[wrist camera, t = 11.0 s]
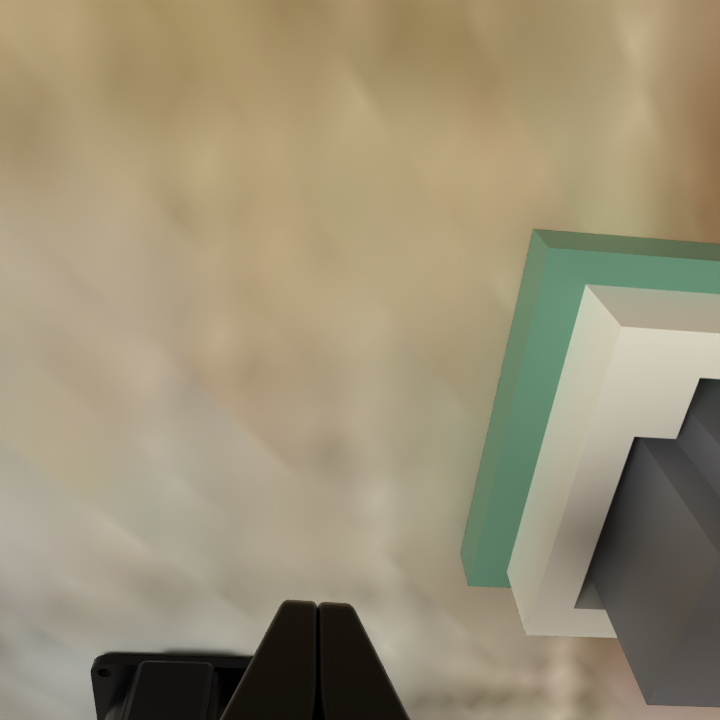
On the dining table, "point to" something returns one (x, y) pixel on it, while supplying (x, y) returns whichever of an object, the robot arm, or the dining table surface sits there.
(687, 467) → the plug
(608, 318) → the board
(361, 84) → the dining table surface
